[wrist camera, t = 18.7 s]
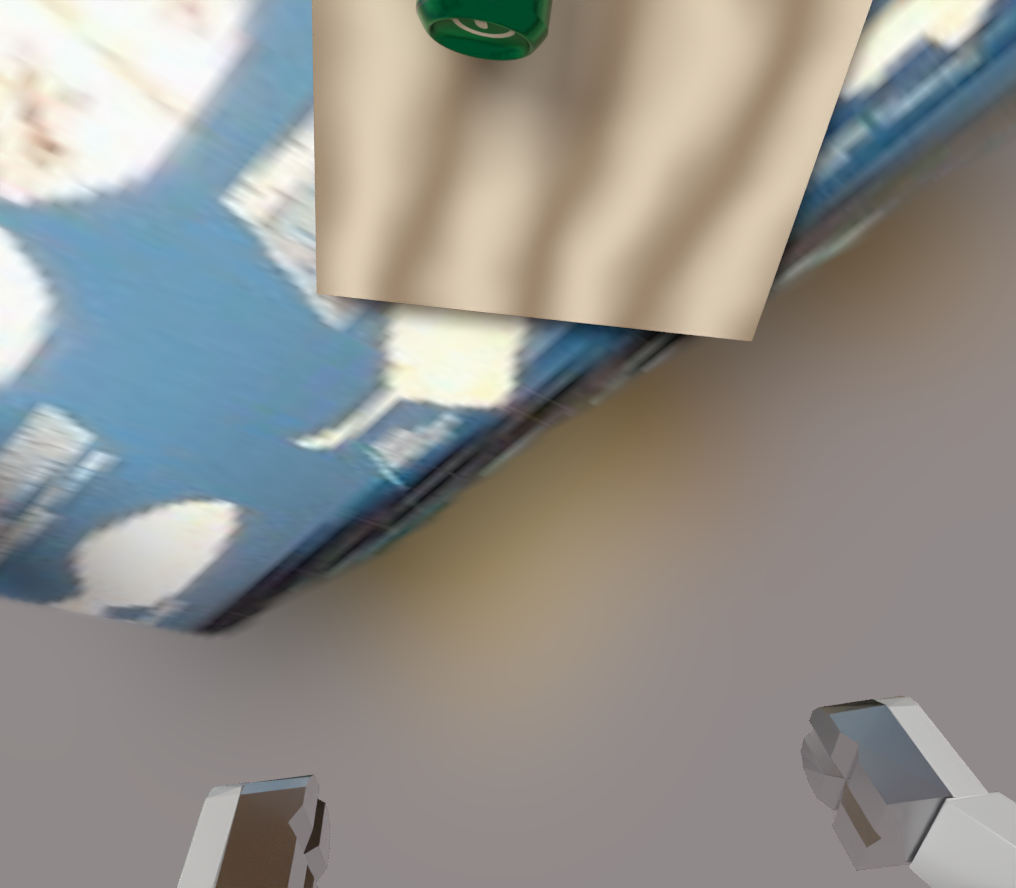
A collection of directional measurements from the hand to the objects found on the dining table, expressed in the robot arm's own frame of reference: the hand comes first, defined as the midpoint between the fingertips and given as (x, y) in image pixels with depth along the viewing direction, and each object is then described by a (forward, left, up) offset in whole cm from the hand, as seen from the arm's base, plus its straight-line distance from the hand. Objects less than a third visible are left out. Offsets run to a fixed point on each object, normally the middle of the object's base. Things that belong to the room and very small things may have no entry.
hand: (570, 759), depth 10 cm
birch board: (+3, +9, -28) cm, 29 cm away
